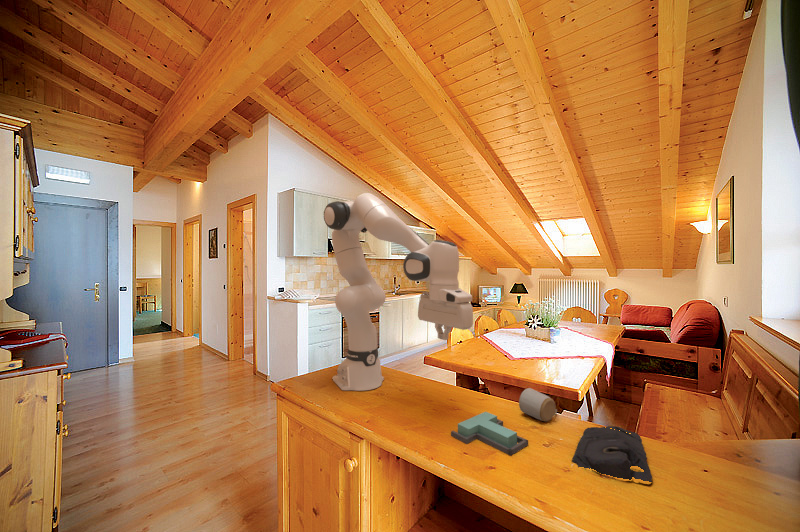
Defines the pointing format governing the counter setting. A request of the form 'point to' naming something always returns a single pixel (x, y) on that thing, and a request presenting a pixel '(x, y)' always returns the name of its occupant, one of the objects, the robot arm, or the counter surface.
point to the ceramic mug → (537, 405)
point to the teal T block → (488, 429)
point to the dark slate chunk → (612, 453)
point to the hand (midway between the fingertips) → (442, 339)
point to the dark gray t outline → (492, 443)
